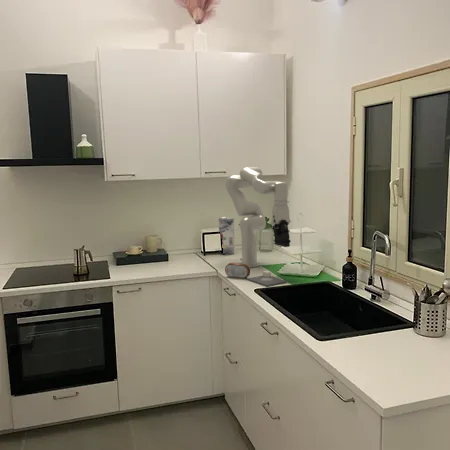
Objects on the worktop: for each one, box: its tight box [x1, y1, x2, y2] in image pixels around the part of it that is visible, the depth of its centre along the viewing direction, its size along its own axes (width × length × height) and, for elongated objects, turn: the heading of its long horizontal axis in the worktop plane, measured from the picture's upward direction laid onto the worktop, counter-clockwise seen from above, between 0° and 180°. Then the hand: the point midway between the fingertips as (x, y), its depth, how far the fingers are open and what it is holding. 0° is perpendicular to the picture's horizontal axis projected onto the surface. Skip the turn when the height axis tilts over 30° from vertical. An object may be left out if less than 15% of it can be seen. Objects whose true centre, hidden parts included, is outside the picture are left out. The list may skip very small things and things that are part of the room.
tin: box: [224, 262, 251, 279], centre depth 274 cm, size 15×3×8 cm, turn 66°
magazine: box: [271, 220, 291, 248], centre depth 276 cm, size 4×13×15 cm, turn 30°
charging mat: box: [246, 270, 288, 288], centre depth 265 cm, size 18×14×4 cm
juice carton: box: [218, 216, 235, 256], centre depth 342 cm, size 9×10×27 cm
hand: (280, 234), depth 276 cm, fingers closed on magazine, 3 cm apart
